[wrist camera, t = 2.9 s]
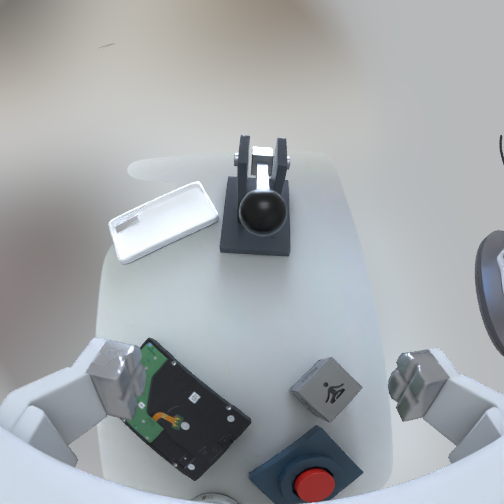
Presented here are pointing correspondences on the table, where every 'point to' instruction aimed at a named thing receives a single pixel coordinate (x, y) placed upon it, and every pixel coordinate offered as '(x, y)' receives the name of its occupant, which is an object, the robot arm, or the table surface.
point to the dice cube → (326, 389)
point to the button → (314, 485)
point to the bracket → (238, 188)
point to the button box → (304, 467)
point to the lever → (262, 198)
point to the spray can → (215, 499)
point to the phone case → (163, 222)
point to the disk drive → (183, 414)
